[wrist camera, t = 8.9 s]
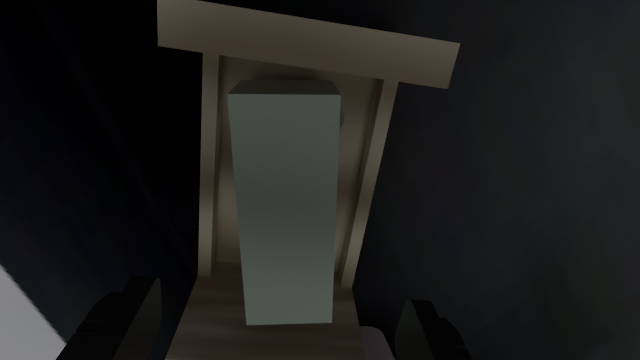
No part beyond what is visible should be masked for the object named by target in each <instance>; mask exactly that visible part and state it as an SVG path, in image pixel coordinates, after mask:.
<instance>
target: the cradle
mask: <svg viewBox="0 0 640 360" xmlns="http://www.w3.org/2000/svg"><path fill="white" fill-rule="evenodd" d="M157 15H158V46H162V47H169V48H176V49H183V50H189V51H196V52H203V76H202V121H201V165H200V210H199V254H198V277H197V280H196V282H195V285H194V287H193V290H192V292H191V295H190V297H189V300H188V303H187V305H186V308H185V310H184V313H183V315H182V318H181V320H180V323H179V325H178V328H177V331H176V333H175V336H174V338H173V341H172V343H171V346H170V348H169V351H168V353H167V356H166V359H165V360H366V356H365V351H364V346H363V341H362V336H361V331H360V327H359V322H358V317H357V312H356V307H355V302H354V297H353V292H352V284H353V280H354V276H355V271H356V267H357V263H358V258H359V254H360V249H361V245H362V241H363V236H364V232H365V227H366V223H367V219H368V214H369V210H370V205H371V201H372V197H373V192H374V188H375V183H376V179H377V175H378V170H379V166H380V161H381V157H382V153H383V148H384V144H385V139H386V135H387V131H388V126H389V122H390V117H391V113H392V109H393V104H394V100H395V95H396V91H397V87H398V82H405V83H411V84H418V85H425V86H432V87H438V88H445V89H448V85H449V82H450V78H451V75H452V71H453V68H454V64H455V61H456V57H457V53H458V50H459V46H460V43H454V42H448V41H442V40H436V39H430V38H423V37H417V36H411V35H405V34H399V33H393V32H387V31H381V30H375V29H369V28H362V27H356V26H350V25H344V24H338V23H332V22H326V21H320V20H314V19H307V18H301V17H295V16H289V15H283V14H277V13H271V12H265V11H259V10H253V9H246V8H240V7H234V6H228V5H222V4H216V3H210V2H204V1H198V0H157ZM241 80H332V81H333V83H334V84H335V86H336V88H337V89H338V91H339V93H340V94H341V103H340V129H339V154H338V180H337V205H336V230H335V256H334V281H333V307H332V323H304V324H272V325H246V313H245V301H244V289H243V277H242V265H241V253H240V241H239V229H238V217H237V205H236V193H235V181H234V169H233V157H232V145H231V133H230V121H229V108H228V96H227V94H228V93H229V92H230V91H231V90H232V89H233V88H234V87H235V86H236V85H237V84H238V83H239V82H240V81H241Z"/></svg>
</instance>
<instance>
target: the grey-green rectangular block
mask: <svg viewBox="0 0 640 360" xmlns="http://www.w3.org/2000/svg"><path fill="white" fill-rule="evenodd" d="M227 96H228V108H229V121H230V133H231V145H232V157H233V169H234V181H235V193H236V205H237V217H238V229H239V241H240V253H241V265H242V277H243V289H244V301H245V313H246V325H272V324H304V323H332V307H333V281H334V256H335V230H336V205H337V180H338V154H339V129H340V103H341V94H340V93H339V91H338V89H337V88H336V86H335V84H334V83H333V81H332V80H241V81H240V82H239V83H238V84H237V85H236V86H235V87H234V88H233V89H232V90H231V91H230V92H229V93H228V94H227Z"/></svg>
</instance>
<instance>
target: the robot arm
mask: <svg viewBox="0 0 640 360" xmlns="http://www.w3.org/2000/svg"><path fill="white" fill-rule="evenodd" d="M161 318H162V308H161V283H160V279H159V278H153V277H141V276H133V277H132V278H131V279H130V280H129V282H128V284H127V285H126V287H125V288H124V290H123V291H122V293H121V292H110V293H109V294H108V295H106V296H105V297H103V298H102V299H101V300H99V301H98V302H97V303H95V305H94V306H93V307H92V309H91V310H90V312H89V313H88V315H87V316H86V317H85V320H84V321H83V322H82V323H81V325H80V326H79V327H78V329H77V330H76V333H75V334H73V336H72V337H71V339H70V340H69V342H68V343H67V344H66V346H65V347H64V349H63V350H62V352H61V353H60V355H59V356H58V357H57V359H56V360H147V358H148V355H149V353H150V351H151V348H152V346H153V344H154V342H155V339H156V337H157V335H158V332H159V328H160V324H161ZM395 349H396V354H397V357H398V360H471V356H470V354H469V352H468V350H467V348H465V344H464V342H463V340H462V338H461V336H460V334H459V332H458V331H457V330H456V329H455V328H454V326H453V325H452V324H451V323H450V322H449V321H448V320H447V319H446V318H439V317H438V314H437V312H436V310H435V308H434V306H433V304H432V302H430V301H424V300H412V299H408V300H407V301H406V302H405V305H404V308H403V311H402V314H401V317H400V320H399V324H398V327H397V330H396V334H395Z"/></svg>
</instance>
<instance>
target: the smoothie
mask: <svg viewBox="0 0 640 360" xmlns="http://www.w3.org/2000/svg"><path fill="white" fill-rule="evenodd" d="M360 331H361V336H362V341H363V346H364V351H365V356H366V360H395V359H394V357H393V355H392V352H391V350H390V348H389V346H388V343H387V341H386V339H385V337H384V335H383V333H382V332H381V331H380V330H379V329H377V328H374V327H371V326H361V327H360Z"/></svg>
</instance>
